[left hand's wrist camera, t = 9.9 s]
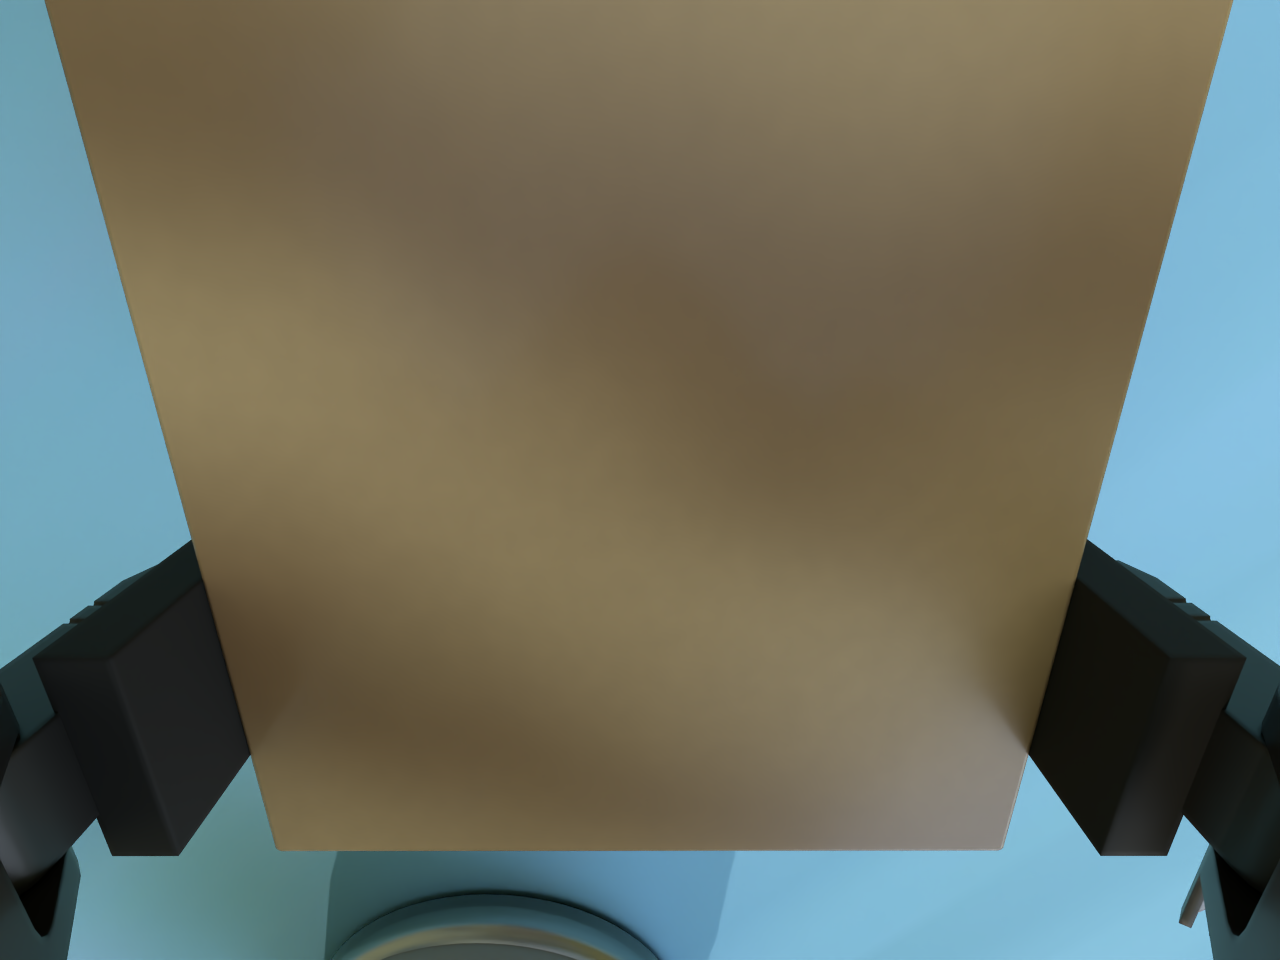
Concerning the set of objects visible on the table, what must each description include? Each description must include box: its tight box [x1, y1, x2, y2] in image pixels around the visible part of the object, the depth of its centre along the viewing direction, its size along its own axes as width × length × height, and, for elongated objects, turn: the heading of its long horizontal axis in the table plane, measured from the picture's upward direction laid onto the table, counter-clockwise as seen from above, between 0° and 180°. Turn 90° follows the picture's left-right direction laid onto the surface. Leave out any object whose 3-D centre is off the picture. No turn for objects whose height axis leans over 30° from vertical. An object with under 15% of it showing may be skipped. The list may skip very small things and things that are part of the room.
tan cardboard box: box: [45, 0, 1233, 851], centre depth 12 cm, size 18×10×11 cm, turn 0°
